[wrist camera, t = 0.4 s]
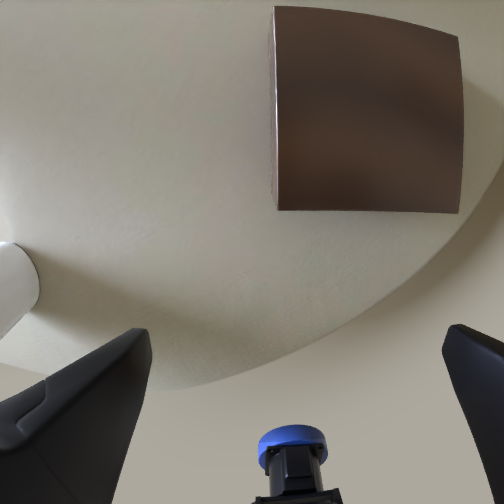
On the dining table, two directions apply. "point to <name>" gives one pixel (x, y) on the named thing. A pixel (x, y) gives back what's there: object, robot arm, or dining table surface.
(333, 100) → the wooden box
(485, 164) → the dining table surface
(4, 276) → the mug
